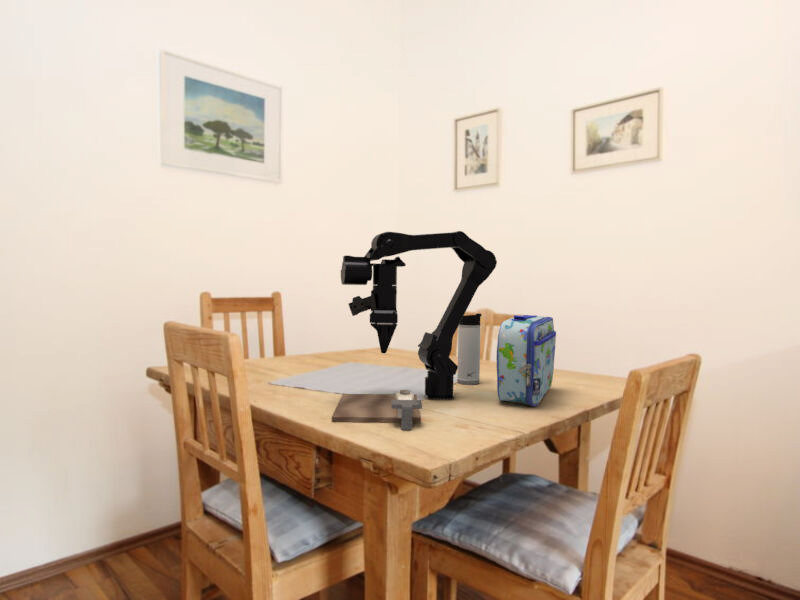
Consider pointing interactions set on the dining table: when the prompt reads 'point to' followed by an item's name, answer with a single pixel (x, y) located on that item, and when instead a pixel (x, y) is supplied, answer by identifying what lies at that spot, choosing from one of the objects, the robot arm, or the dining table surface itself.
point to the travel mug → (469, 350)
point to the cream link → (403, 397)
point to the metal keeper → (406, 411)
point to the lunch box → (525, 358)
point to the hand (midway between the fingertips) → (383, 350)
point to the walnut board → (370, 408)
